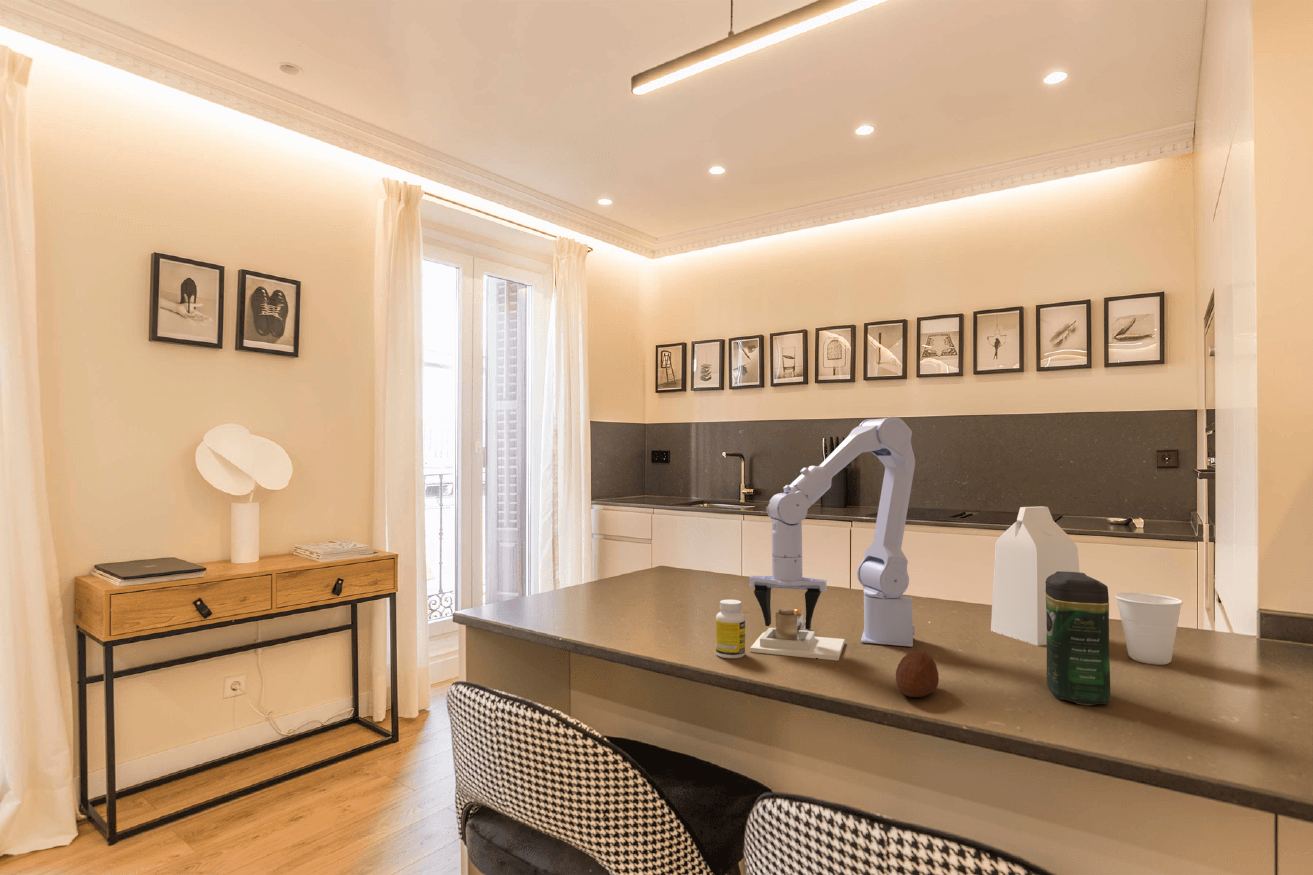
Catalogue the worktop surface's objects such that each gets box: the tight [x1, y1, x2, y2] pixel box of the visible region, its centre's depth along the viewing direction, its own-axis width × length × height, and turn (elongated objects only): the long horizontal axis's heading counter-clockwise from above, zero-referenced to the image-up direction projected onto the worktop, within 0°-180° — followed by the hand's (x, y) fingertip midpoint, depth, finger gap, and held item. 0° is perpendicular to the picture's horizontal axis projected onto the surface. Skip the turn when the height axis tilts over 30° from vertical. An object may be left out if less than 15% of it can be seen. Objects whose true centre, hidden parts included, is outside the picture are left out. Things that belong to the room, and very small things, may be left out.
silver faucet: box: [793, 608, 804, 634], centre depth 140 cm, size 2×8×4 cm, turn 159°
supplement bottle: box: [715, 599, 746, 659], centre depth 126 cm, size 5×5×10 cm
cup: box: [1114, 592, 1184, 666], centre depth 122 cm, size 10×10×11 cm
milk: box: [990, 506, 1080, 647], centre depth 139 cm, size 12×12×26 cm
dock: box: [749, 619, 845, 662], centre depth 135 cm, size 16×22×2 cm
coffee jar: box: [1045, 571, 1111, 706], centre depth 104 cm, size 10×8×19 cm
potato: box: [895, 649, 940, 698], centre depth 105 cm, size 6×12×6 cm, turn 149°
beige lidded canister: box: [775, 608, 797, 641], centre depth 131 cm, size 4×4×7 cm
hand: (787, 626), depth 131 cm, fingers open, 7 cm apart
